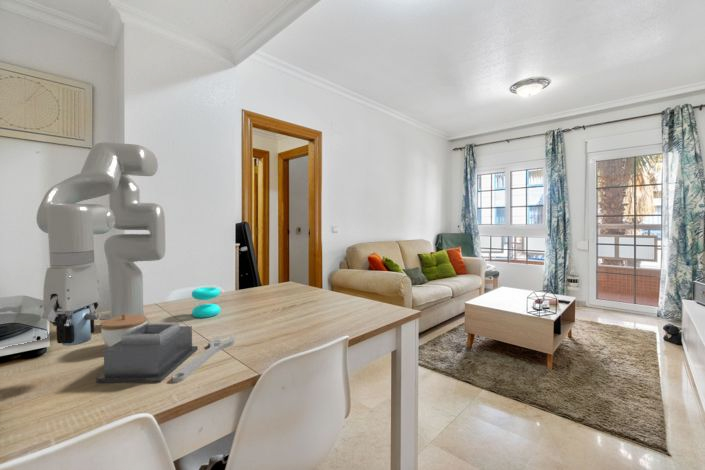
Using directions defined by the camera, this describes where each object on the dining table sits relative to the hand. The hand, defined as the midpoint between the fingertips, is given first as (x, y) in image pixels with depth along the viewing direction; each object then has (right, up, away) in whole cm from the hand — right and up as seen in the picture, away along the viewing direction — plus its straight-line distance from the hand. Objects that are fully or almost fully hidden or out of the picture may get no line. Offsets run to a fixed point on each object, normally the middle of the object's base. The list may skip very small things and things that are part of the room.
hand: (76, 336), depth 72 cm
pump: (+1, -1, 0) cm, 1 cm away
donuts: (+7, -8, +50) cm, 51 cm away
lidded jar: (-2, -9, +19) cm, 21 cm away
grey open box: (+13, -9, +7) cm, 17 cm away
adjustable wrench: (+24, -10, +11) cm, 28 cm away
